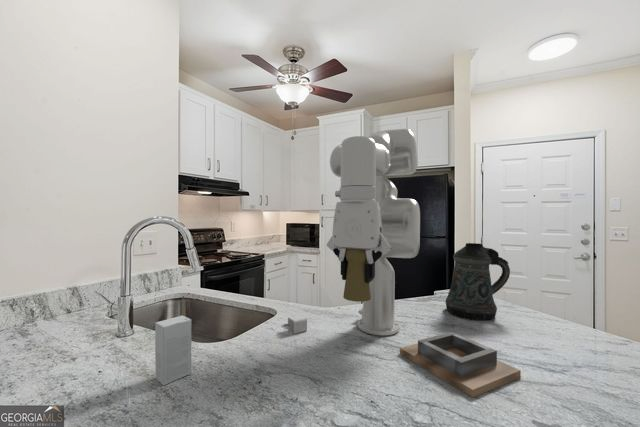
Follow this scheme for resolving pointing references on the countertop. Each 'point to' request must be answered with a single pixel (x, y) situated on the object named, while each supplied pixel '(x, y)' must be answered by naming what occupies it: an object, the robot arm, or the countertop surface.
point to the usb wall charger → (296, 324)
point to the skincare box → (172, 349)
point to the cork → (356, 277)
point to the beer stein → (475, 283)
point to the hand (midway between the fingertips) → (357, 279)
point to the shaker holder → (461, 363)
